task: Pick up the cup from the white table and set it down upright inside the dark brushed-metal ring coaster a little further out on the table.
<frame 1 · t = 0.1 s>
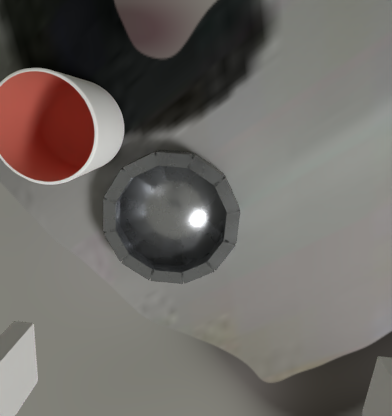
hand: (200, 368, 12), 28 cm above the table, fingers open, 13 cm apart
ring coaster: (172, 215, 40), on the table
cup: (85, 126, 38), on the table
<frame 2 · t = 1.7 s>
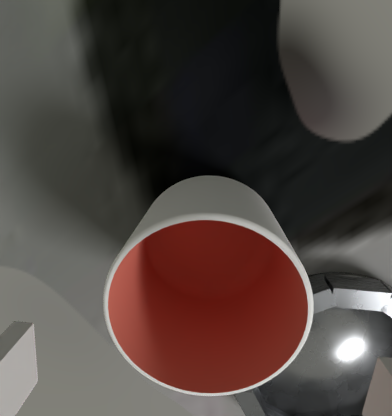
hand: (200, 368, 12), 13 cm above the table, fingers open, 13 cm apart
ring coaster: (327, 356, 27), on the table
cup: (209, 235, 25), on the table
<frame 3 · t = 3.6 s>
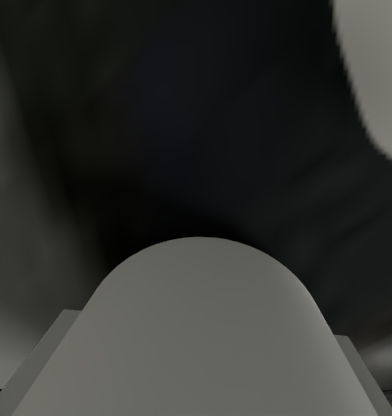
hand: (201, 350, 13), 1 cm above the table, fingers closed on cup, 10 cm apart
cup: (202, 327, 15), on the table, touching gripper
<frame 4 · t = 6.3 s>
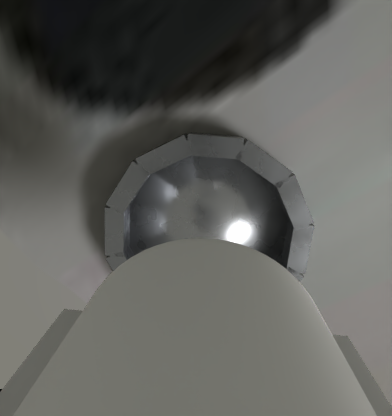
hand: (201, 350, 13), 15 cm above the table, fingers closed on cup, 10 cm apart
ring coaster: (206, 229, 27), on the table
cup: (202, 328, 15), point 13 cm above the table, touching gripper
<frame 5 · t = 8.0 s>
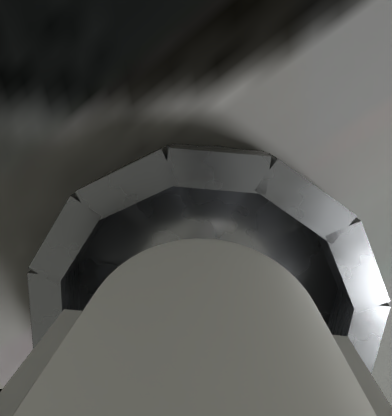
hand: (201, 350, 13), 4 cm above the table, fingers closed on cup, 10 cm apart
ring coaster: (203, 297, 17), on the table
cup: (202, 328, 15), point 3 cm above the table, touching gripper
when the fingers open (3 cm above the table, at t = 9.1 s): cup drops 1 cm, resting on ring coaster.
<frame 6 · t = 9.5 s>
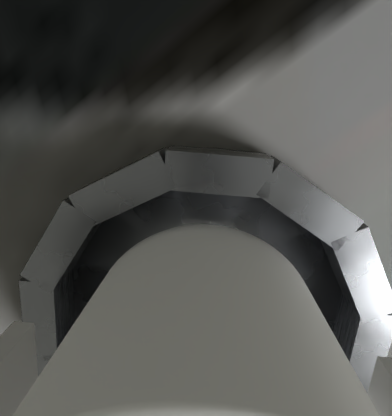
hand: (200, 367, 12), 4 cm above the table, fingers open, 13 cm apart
ring coaster: (203, 304, 16), on the table
cup: (203, 309, 16), resting on ring coaster
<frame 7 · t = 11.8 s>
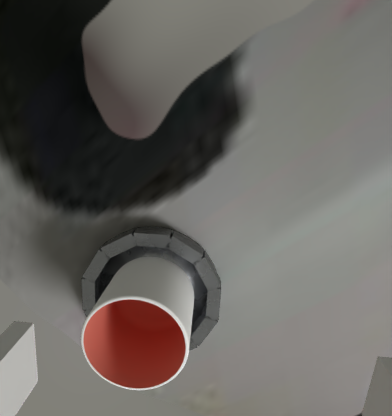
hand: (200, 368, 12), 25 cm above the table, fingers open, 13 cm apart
ring coaster: (154, 288, 39), on the table
cup: (154, 289, 39), resting on ring coaster
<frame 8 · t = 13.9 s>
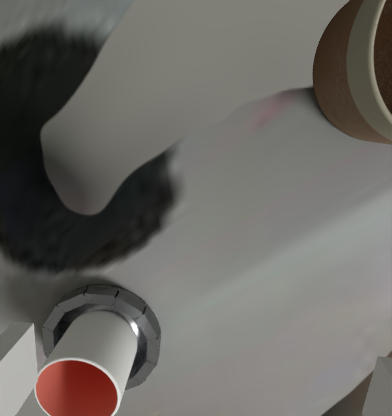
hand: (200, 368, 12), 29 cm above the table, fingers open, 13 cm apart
ring coaster: (106, 333, 46), on the table
planter: (382, 68, 35), on the table
cup: (105, 335, 46), resting on ring coaster
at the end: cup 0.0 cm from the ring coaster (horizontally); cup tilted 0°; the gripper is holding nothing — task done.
